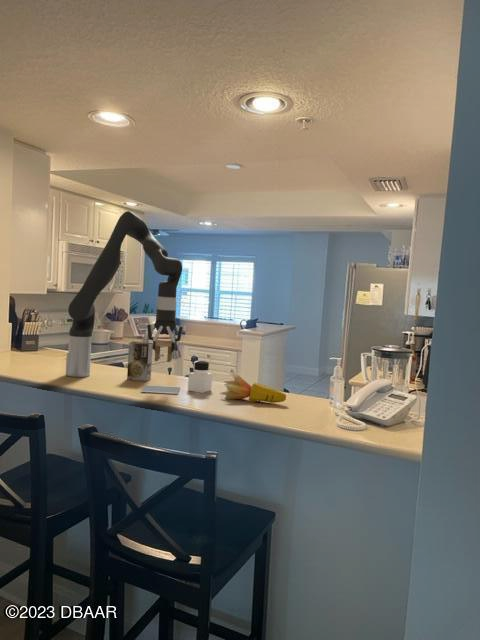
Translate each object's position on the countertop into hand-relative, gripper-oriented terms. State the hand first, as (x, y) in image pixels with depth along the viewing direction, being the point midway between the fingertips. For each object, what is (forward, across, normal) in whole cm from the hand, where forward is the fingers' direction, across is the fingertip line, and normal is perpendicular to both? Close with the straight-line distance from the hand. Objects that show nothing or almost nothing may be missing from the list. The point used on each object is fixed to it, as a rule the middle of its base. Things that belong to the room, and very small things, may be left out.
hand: (163, 351), depth 178 cm
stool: (+4, 0, 0) cm, 4 cm away
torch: (+16, -35, +10) cm, 40 cm away
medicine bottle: (+16, -15, -4) cm, 22 cm away
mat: (+16, 0, 0) cm, 16 cm away
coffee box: (+16, +12, -20) cm, 28 cm away
